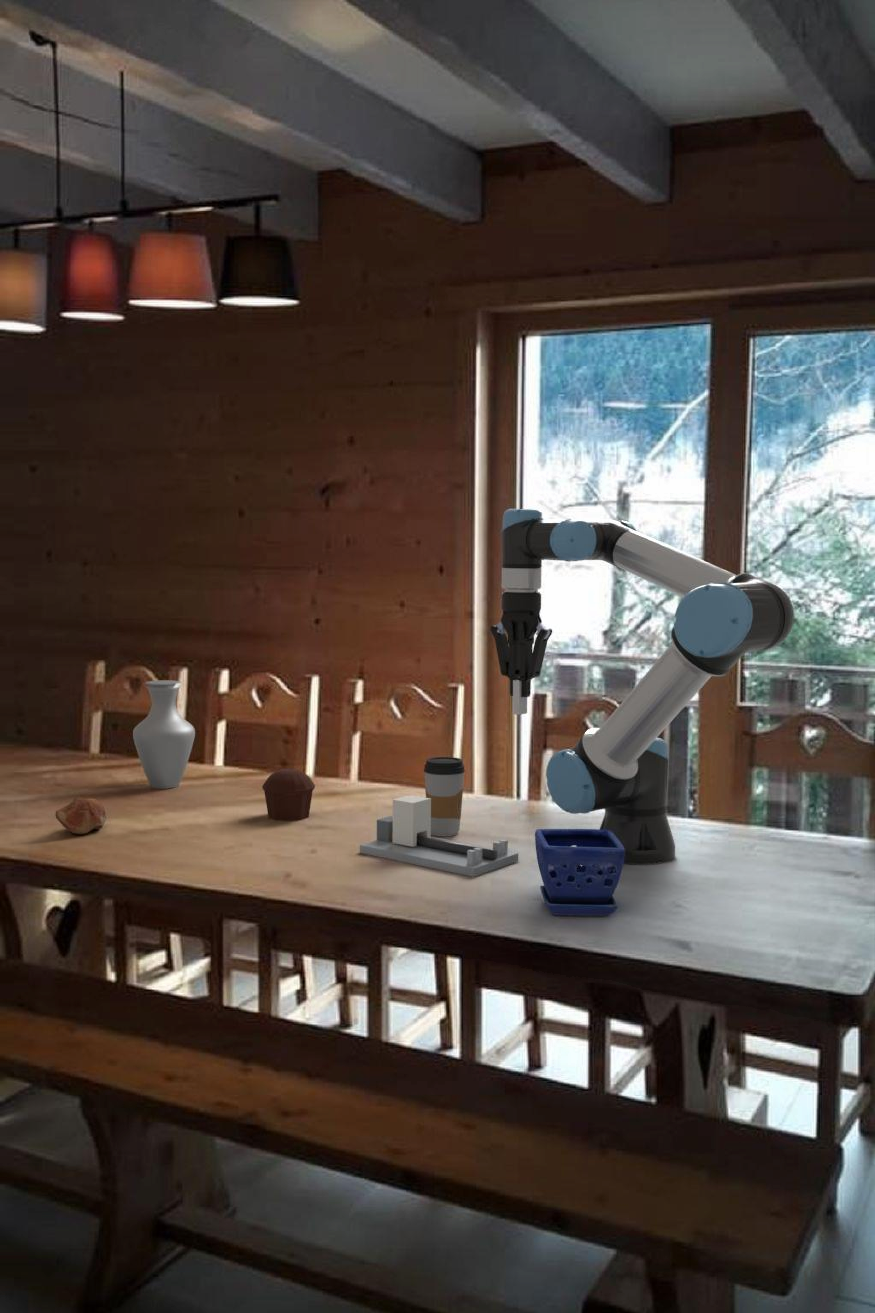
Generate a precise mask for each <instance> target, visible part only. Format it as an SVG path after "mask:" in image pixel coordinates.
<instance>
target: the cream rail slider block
mask: <svg viewBox="0 0 875 1313" xmlns="http://www.w3.org/2000/svg"><path fill="white" fill-rule="evenodd" d="M392 817H393V843H396V844H401V845H406V846H411V847H414V846H417V835H418V836H423V837H428V838H431V837H432V834H431V798H426V796H425V797H424V796H418V795H412V794H410V795H406V796H405V795H404V796H401V797H397V798H394V799H392Z"/></svg>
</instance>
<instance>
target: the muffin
mask: <svg viewBox="0 0 875 1313" xmlns="http://www.w3.org/2000/svg"><path fill="white" fill-rule="evenodd" d="M261 787H262V790H263V791H264V792H263V793H264V797H265V803H266V804H265V805H266V809H267V816H268V819H271V820H274V821H287V822H291V821H301V820H304V819H309V818H310V811H311V804H312V797H313V792H314V790H315V789H316V784H315V783H314V782H313V780H312V778H311V777H310V776H309V775H307V774H306V773H304V772H303V771H301V770H300V769H297V768H281V769H277V770H276V771H274V772H273V773H271V774H270V775H269V776H268V777H267V779H266V780H265V782H264V783H263V785H262V786H261Z"/></svg>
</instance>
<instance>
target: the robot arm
mask: <svg viewBox="0 0 875 1313" xmlns="http://www.w3.org/2000/svg"><path fill="white" fill-rule="evenodd" d="M501 526H502V528H501V541H502V544H501V546H502V547H501V549H502V551H501V552H502V554H501V555H502V556H501V557H502V559H501V561H502V562H501V563H502V564H501V565H502V566H501V588H502V589H503V590H504V591H502V593H501V611H502V615H501V618H500V621H499V622H498V623H497V624H496V625H491V626H490V628H489V630H490V632H491V634H492V635H493V637H494V638H493V639H494V642H495V648H496V654H497V659H498V663H499V670H500V673H501V676H505V677H507V678H508V679H509V695H510V697H512V715H526V714H527V713H528V698H530V697H531V692H532V691H531V690H532V685H531V682H532V680H533V679H536V678H538V677H540V676H541V673H542V667H543V663H544V658H545V655H546V654H545V653H546V650H547V644H548V640H549V639H550V637H551V636H552V634H553V629H552V628H551V627H546V626H545V625H544V624H543V623H542V622H543V621H542V617H541V616H540V614H541V610H542V593H541V591H539V590H541V588H542V566H543V565H542V562H543V561H544V560H545V561H546V560H547V561H563V562H569V563H570V562H579V561H602V562H606V563H608V564H610V565H612V566H615V567H617V568H619V569H622V570H623V571H625V572H628V573H629V574H632V575H634V576H636V577H638V578H640V579H642V580H645V581H647V582H649V583H650V584H652V585H654V586H657V587H659V588H662V589H663V590H666V591H668V592H669V593H671V594H674V595H676V596H678V597H680V598H681V600H680V602H679V603H678V605H677V608H676V610H675V613H674V617H675V622H673V627H672V628H671V631H670V640H671V643H670V645H669V646H668V647H667V648H666V649H665V651H664V652H663V653H662V654H661V656H659V658H658V659H657V660H656V662H655V663H654V664H653V665H652V666H651V668H650V669H649V670H648V671H647V672H646V673H645V674H644V676H643V677H642V678H641V680H640V681H639V682H637V684H636V685H635V687H634V688H632V690H631V691H630V692H629V694H628V695H627V696H626V697H625V698H624V699H623V700H622V701H621V703H620V704H619V705H618V706H617V707H616V708H615V710H614V711H613V712H612V713H611V714H610V716H609V717H608V718H607V720H606V721H605V722H604V723H603V724H602V725H601V727H592V728H589V729H587V730H586V731H585V733H584V734H583V735H582V736H581V737H580V738H579V739H578V740H577V742H575V745H573V746H572V747H570V748H569V749H561V750H559V751H558V752H555V753H554V754H553V755H552V756H551V757H550V758H549V760H548V763H547V766H546V772H545V777H546V786H547V789H548V792H549V795H550V796H551V798H552V800H553V801H554V803H555V804H556V805H557V807H558V808H560V809H561V810H562V811H564V812H566V813H569V814H573V815H577V814H588V813H590V812H595V811H600V810H604V814H603V818H602V821H601V824H600V827H599V828H598V829H599V830H610V831H612V832H613V834H614V835H615V836H616V837H617V839H618V840H619V841H620V842H621V844H622V845H623V847H624V849H625V855H624V862H623V864H631V865H654V864H662V863H667V862H670V861H672V860H674V859H675V857H676V843H675V840H674V836H673V833H672V830H671V827H670V822H669V819H668V815H667V813H668V781H669V779H668V778H669V762H670V758H669V747H668V742H666V740H664V739H663V738H660V737H659V736H660V735H661V733H663V731H664V730H665V729H666V728H667V727H668V726H669V724H670V723H671V722H673V720H674V719H675V718H676V717H677V715H679V714H680V712H681V711H682V710H683V709H684V708H685V707H686V706H687V704H688V703H689V702H690V701H691V700H692V699H693V698H694V697H695V695H696V694H697V693H698V692H699V691H700V690H701V689H702V687H704V685H705V684H706V683H707V682H708V681H709V680H710V679H711V677H723V676H725V675H726V674H728V673H729V671H730V670H731V669H732V668H733V667H734V666H735V664H736V663H737V662H738V661H739V660H740V659H741V658H742V657H743V656H744V655H745V654H748V653H754V652H755V653H756V652H764V651H768V650H770V649H773V648H776V647H777V646H779V645H780V644H782V643H783V642H784V641H785V640H786V638H787V637H788V635H790V632H791V630H792V628H793V624H794V621H795V611H794V606H793V604H792V601H791V599H790V597H789V596H788V594H787V593H786V592H785V591H784V590H783V589H782V588H781V587H779V586H778V585H777V584H774V583H771V582H769V581H767V580H765V579H762V578H760V577H758V576H754V575H752V574H749V573H747V572H742V573H739V574H736V573H733V572H730V571H728V570H726V569H723V568H722V567H719V566H716V565H714V564H712V563H710V562H707V561H705V560H703V559H701V558H698V557H695V556H693V555H691V554H689V553H686V552H685V551H682V550H680V549H678V548H675V547H673V546H670V545H669V544H665V543H663V542H661V541H659V540H657V539H654V538H653V537H650V536H647V535H645V534H644V533H641V532H639V531H638V530H637V529H636V528H635V526H634V525H633V524H632V523H630V522H628V521H625V520H619V519H615V518H614V519H578V518H566V519H565V518H564V519H544V518H543V512H542V511H541V509H539V508H537V509H535V508H533V509H532V508H521V509H520V508H508V509H506V510H505V511H504V513H503V516H502V525H501ZM535 635H536V637H535Z"/></svg>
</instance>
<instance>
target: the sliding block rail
mask: <svg viewBox="0 0 875 1313" xmlns="http://www.w3.org/2000/svg"><path fill="white" fill-rule="evenodd" d="M508 846H509V842H508V840H507V839H503V838H502V839H500V840H499V841H494V842H493V843H492V847H488V846H483V845H482V846H481V845H478V844H473V843H466V842H461V841H457V840H452V839H446V838H441V837H435V836H431V838H428V837H423V836H418V835H417V846H414V847H411V846H406V845H401V844H396V843H393V815H392V816H391V815H390V816H386V817H383V818H377V819H376V840H373V841H368V842H366V843H362V844H359V853H360V854H364V855H370V856H375V857H378V858H384V859H389V860H393V861H396V862H397V861H398V862H403V863H407V864H412V865H417V866H422V867H427V868H431V869H436V870H441V871H445V872H449V873H450V872H451V873H454V874H459V875H464V876H468V877H476V876H477V877H478V876H480V875H482V874H485V873H489V872H491V871H494V870H497V869H500V868H502V867H506V866H509V865H510V864H514V863H517V862H519V852H513V851H508V850H509V848H508Z"/></svg>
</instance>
